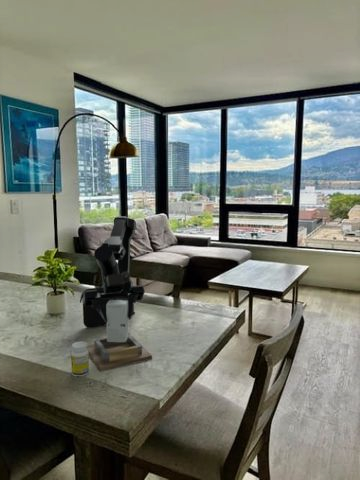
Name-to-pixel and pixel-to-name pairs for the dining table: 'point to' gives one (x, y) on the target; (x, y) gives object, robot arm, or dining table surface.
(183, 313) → the dining table surface
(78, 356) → the supplement bottle
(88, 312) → the carrying case or bag
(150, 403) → the dining table surface
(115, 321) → the skincare box
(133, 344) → the sleeve holder
